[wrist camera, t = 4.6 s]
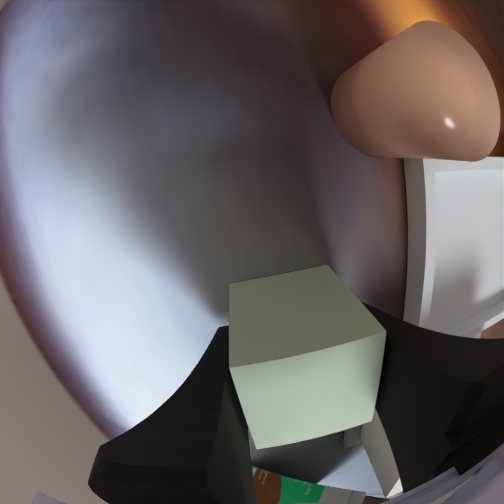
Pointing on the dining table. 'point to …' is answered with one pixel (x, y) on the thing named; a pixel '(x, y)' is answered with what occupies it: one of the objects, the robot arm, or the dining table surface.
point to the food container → (303, 491)
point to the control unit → (378, 451)
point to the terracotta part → (419, 98)
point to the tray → (455, 244)
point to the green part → (302, 355)
